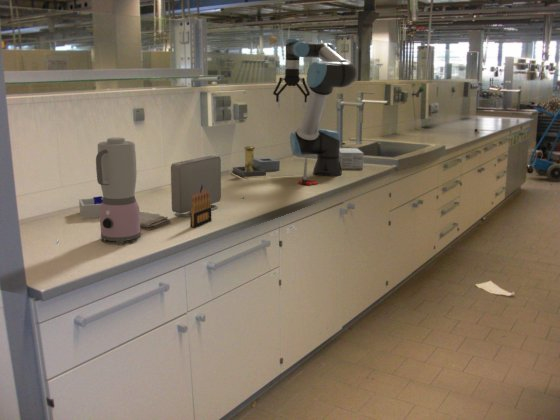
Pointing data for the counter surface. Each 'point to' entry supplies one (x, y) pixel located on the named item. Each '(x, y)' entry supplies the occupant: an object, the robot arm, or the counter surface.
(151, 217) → the washcloth
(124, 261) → the counter surface
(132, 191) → the blender
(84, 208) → the box
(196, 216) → the ammunition clip
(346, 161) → the supplement box
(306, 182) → the red base upright rod
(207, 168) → the network device
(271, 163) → the block
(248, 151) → the amber glass vase
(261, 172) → the tray
